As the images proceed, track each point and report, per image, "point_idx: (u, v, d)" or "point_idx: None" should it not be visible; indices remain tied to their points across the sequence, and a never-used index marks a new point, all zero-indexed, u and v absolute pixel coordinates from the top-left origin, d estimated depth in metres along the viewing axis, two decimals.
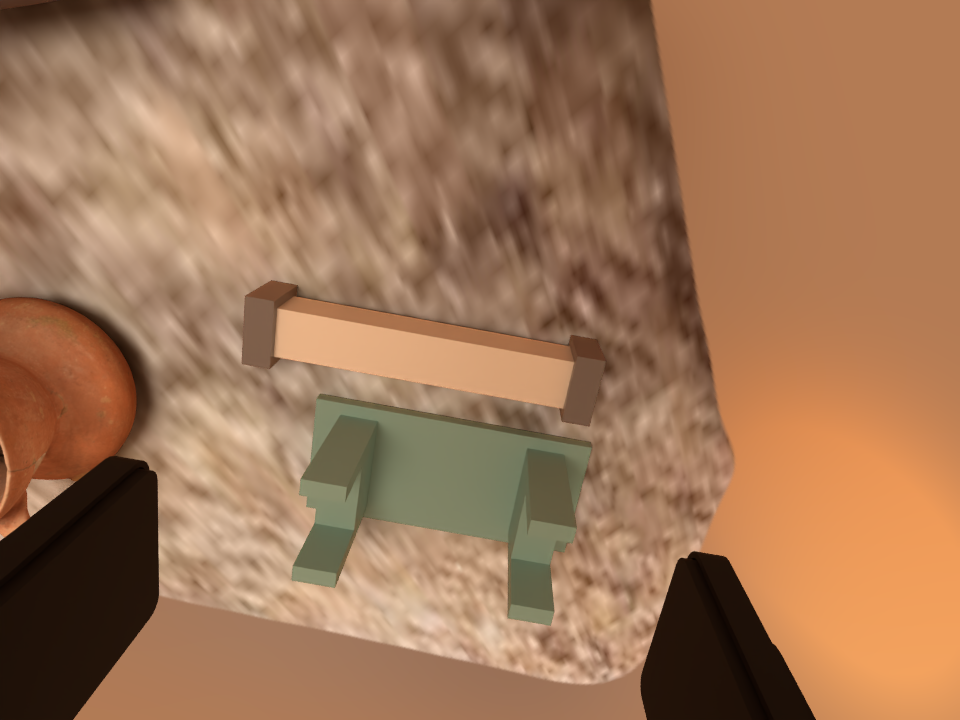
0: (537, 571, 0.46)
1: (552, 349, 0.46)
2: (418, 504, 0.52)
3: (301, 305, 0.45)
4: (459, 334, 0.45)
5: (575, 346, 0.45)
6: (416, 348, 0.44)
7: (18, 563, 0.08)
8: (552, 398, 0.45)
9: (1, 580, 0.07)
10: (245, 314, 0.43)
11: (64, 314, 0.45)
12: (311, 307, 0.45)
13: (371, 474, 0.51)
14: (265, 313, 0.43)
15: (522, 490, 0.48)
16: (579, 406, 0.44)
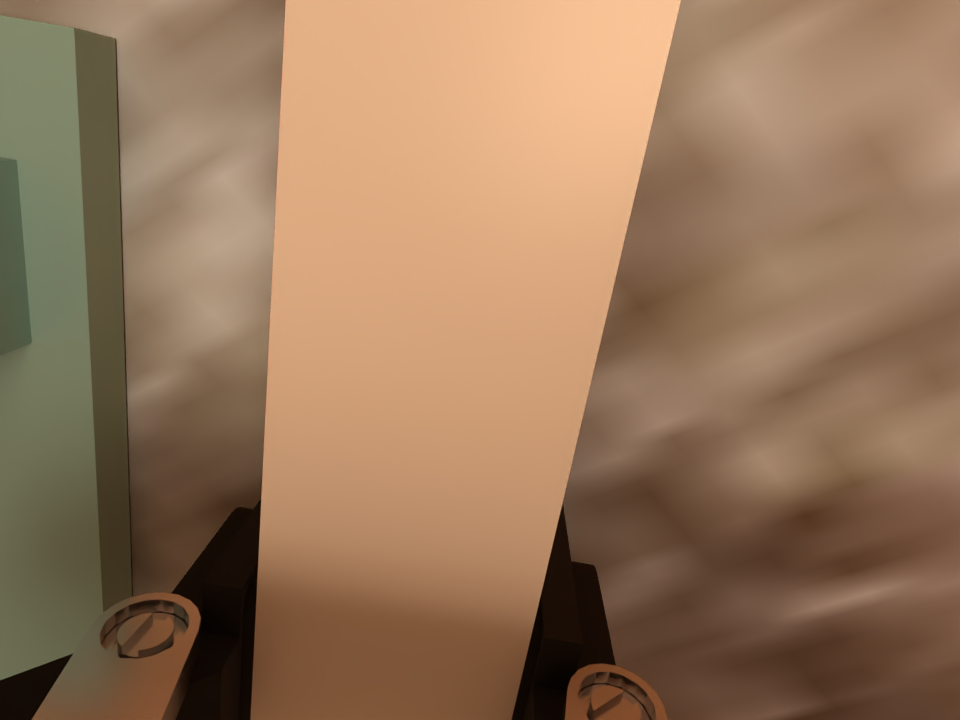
0: None
1: None
2: None
3: None
4: None
5: None
6: (437, 679, 0.08)
7: None
8: None
9: None
10: None
11: None
12: None
13: None
14: None
15: None
16: None
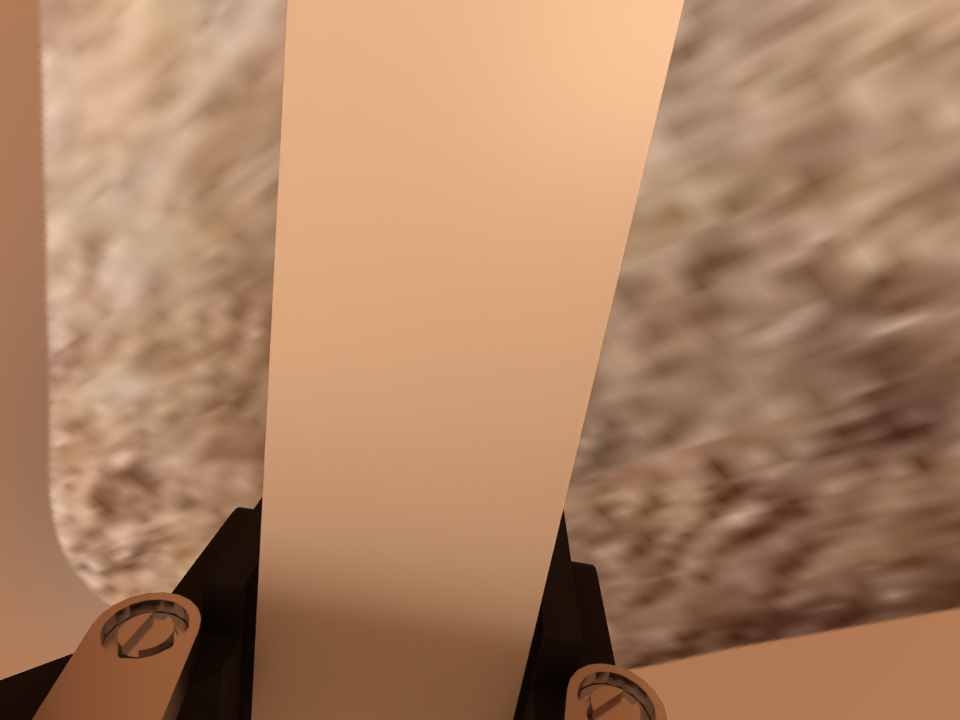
0: None
1: None
2: None
3: None
4: None
5: None
6: (439, 678, 0.08)
7: None
8: None
9: None
10: None
11: None
12: None
13: None
14: None
15: None
16: None
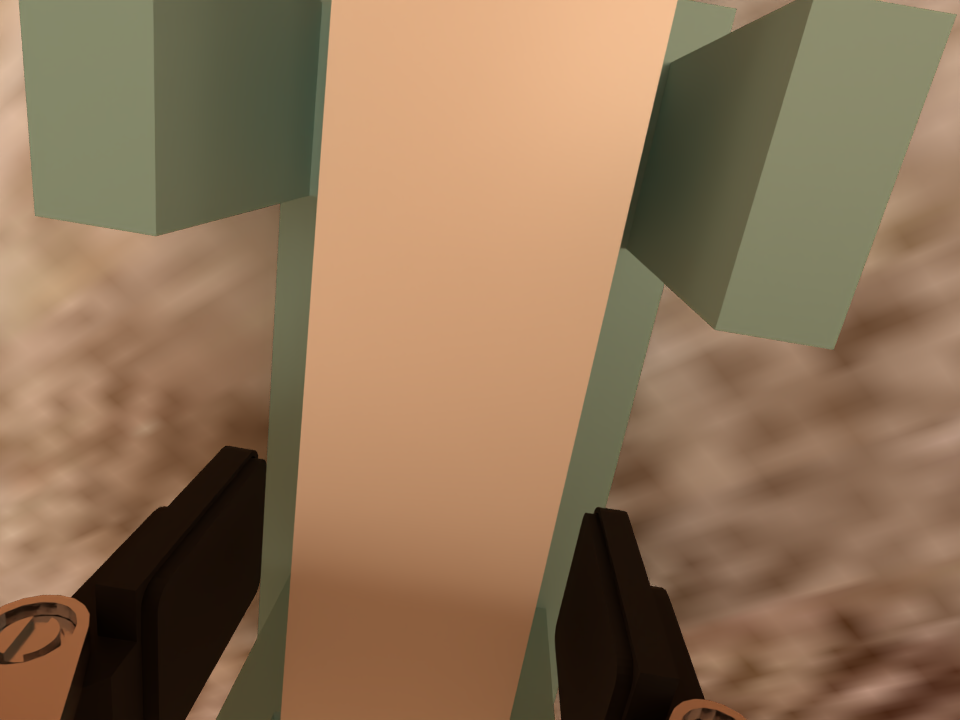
0: None
1: None
2: None
3: None
4: None
5: None
6: (455, 629, 0.09)
7: (176, 539, 0.09)
8: None
9: (167, 553, 0.08)
10: None
11: None
12: None
13: None
14: None
15: None
16: None
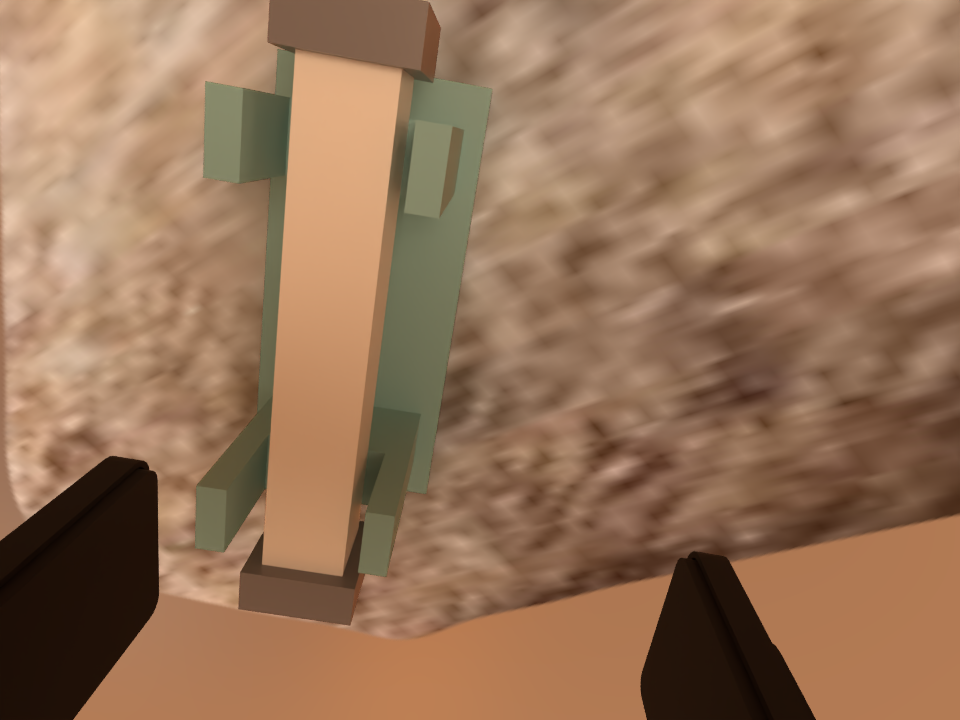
0: (258, 482, 0.29)
1: (355, 522, 0.30)
2: None
3: (404, 108, 0.23)
4: (369, 394, 0.27)
5: None
6: (341, 341, 0.24)
7: (18, 563, 0.08)
8: (277, 549, 0.28)
9: (1, 580, 0.07)
10: None
11: None
12: (401, 129, 0.23)
13: None
14: (392, 47, 0.20)
15: (372, 430, 0.32)
16: (270, 595, 0.28)
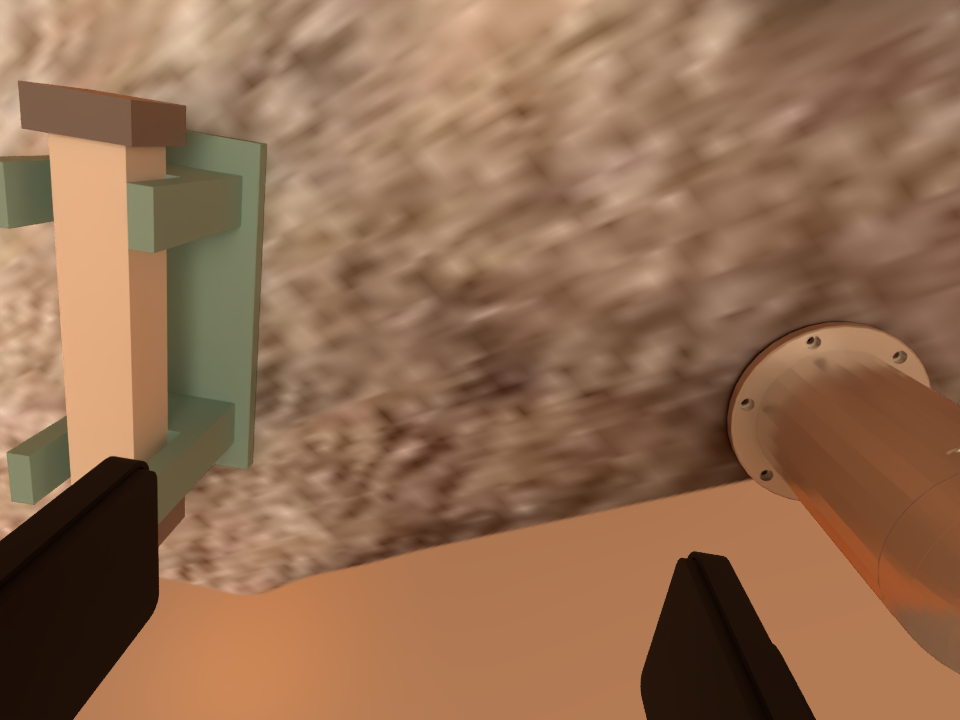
0: None
1: None
2: None
3: (145, 169, 0.31)
4: (148, 384, 0.35)
5: None
6: (109, 343, 0.32)
7: (18, 563, 0.08)
8: None
9: (1, 580, 0.07)
10: (101, 97, 0.28)
11: None
12: None
13: None
14: (109, 130, 0.28)
15: (182, 415, 0.40)
16: None
